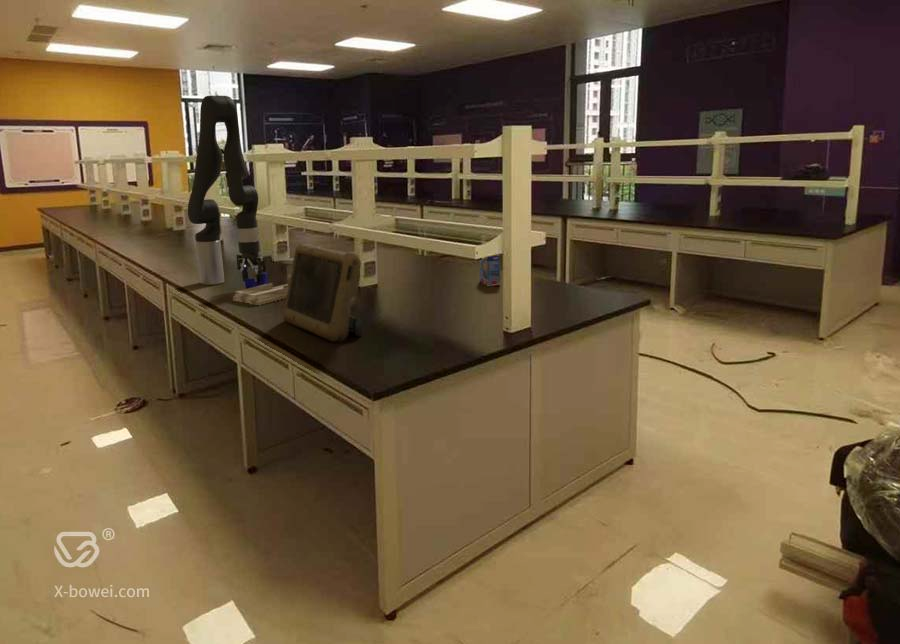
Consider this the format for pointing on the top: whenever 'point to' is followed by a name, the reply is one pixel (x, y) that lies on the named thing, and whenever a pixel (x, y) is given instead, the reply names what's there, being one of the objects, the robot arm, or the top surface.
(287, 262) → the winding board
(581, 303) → the top surface
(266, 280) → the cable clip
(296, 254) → the tablet
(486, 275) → the ink cartridge box
